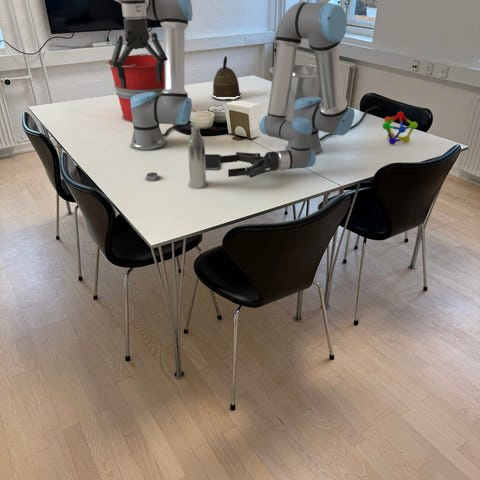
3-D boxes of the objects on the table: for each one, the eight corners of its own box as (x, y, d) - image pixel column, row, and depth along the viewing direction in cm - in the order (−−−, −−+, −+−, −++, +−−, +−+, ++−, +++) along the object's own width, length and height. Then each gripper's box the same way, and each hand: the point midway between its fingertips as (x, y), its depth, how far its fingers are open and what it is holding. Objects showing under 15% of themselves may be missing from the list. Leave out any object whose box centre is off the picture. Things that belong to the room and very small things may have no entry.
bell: (227, 105, 294) (202, 96, 282) (238, 66, 289) (213, 55, 277) (243, 108, 280) (217, 98, 268) (255, 66, 275) (229, 55, 263)
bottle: (205, 188, 167) (202, 130, 155) (189, 187, 167) (185, 130, 156) (207, 181, 172) (204, 125, 161) (191, 181, 173) (188, 124, 161)
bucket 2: (296, 138, 215) (301, 78, 201) (255, 124, 234) (256, 68, 219) (335, 125, 232) (342, 70, 217) (294, 113, 251) (297, 61, 236)
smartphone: (201, 167, 182) (204, 154, 195) (201, 169, 182) (204, 155, 195) (218, 167, 182) (220, 154, 195) (218, 169, 182) (220, 155, 195)
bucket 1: (122, 106, 262) (115, 52, 246) (181, 107, 261) (178, 52, 245) (105, 124, 232) (96, 64, 216) (172, 125, 231) (167, 64, 216)
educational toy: (377, 146, 209) (379, 114, 202) (384, 138, 219) (386, 107, 211) (411, 149, 202) (415, 116, 195) (417, 141, 212) (420, 109, 204)
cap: (160, 177, 175) (159, 173, 174) (153, 181, 172) (152, 177, 171) (151, 175, 177) (151, 171, 176) (144, 179, 174) (144, 175, 173)
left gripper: (102, 21, 136) (112, 92, 147) (174, 16, 148) (178, 82, 159) (93, 19, 141) (104, 87, 152) (163, 14, 153) (168, 78, 165)
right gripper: (287, 182, 166) (232, 188, 161) (266, 158, 186) (217, 163, 181) (288, 163, 162) (232, 169, 157) (267, 141, 182) (216, 145, 177)
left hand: (142, 85), depth 156 cm, fingers open, 13 cm apart
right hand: (224, 166), depth 169 cm, fingers open, 13 cm apart
